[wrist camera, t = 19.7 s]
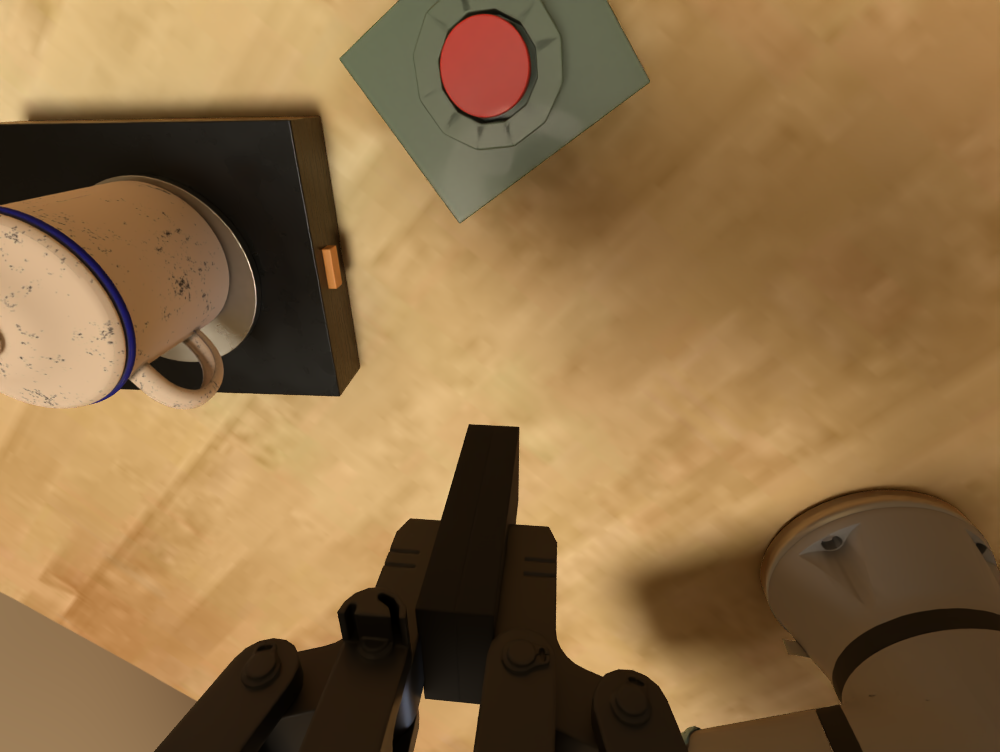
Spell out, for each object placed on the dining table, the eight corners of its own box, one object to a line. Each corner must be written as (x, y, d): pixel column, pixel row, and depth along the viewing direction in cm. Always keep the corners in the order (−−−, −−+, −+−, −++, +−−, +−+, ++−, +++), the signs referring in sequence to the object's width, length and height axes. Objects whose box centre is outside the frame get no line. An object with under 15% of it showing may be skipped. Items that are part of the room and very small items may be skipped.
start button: (497, -4, 24) (494, -10, 22) (547, 79, 25) (547, 79, 24) (429, 58, 25) (421, 56, 24) (480, 133, 27) (475, 136, 25)
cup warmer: (329, 115, 30) (294, 119, 26) (367, 368, 38) (344, 401, 34) (28, 120, 32) (-48, 125, 28) (121, 361, 40) (72, 392, 35)
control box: (537, -118, 25) (533, -153, 21) (644, 82, 28) (657, 81, 25) (352, 60, 29) (323, 56, 25) (464, 216, 32) (453, 232, 29)
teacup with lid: (48, 244, 31) (-208, 322, 20) (133, 135, 27) (-121, 164, 17) (214, 393, 34) (69, 522, 24) (307, 313, 31) (184, 423, 21)
